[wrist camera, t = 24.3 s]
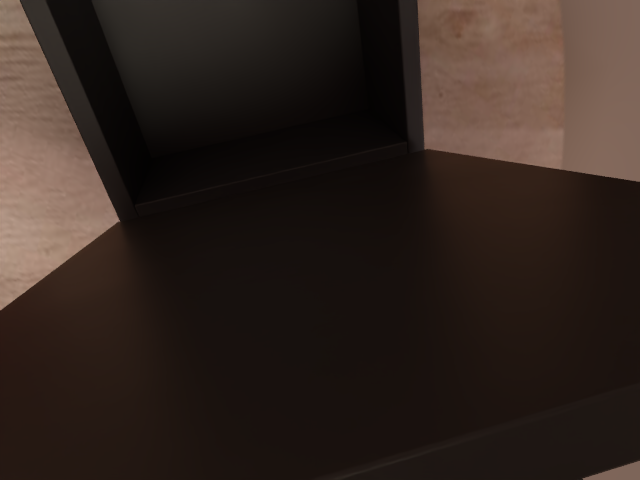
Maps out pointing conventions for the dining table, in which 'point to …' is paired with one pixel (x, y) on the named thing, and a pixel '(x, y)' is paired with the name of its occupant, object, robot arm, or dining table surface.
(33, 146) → the dining table surface
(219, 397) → the dark hinged box lid
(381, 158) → the black keepsake box
